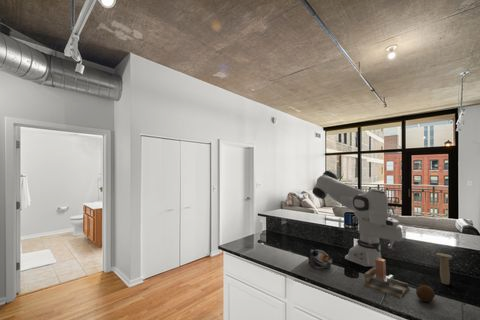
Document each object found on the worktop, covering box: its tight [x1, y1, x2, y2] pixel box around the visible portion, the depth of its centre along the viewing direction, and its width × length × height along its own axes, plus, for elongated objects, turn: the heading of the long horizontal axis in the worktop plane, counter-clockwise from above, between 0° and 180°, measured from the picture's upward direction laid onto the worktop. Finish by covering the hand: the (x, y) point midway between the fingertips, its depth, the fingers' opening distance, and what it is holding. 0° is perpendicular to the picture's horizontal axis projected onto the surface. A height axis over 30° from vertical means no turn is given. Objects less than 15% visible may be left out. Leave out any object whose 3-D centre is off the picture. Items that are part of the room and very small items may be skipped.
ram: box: [371, 258, 394, 286], centre depth 119 cm, size 8×7×12 cm
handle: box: [435, 252, 453, 285], centre depth 121 cm, size 5×6×15 cm
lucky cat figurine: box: [308, 248, 334, 270], centre depth 142 cm, size 15×12×14 cm
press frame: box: [364, 266, 410, 299], centre depth 118 cm, size 16×13×6 cm
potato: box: [415, 284, 436, 303], centre depth 106 cm, size 7×12×7 cm, turn 137°
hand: (380, 246), depth 121 cm, fingers open, 8 cm apart
